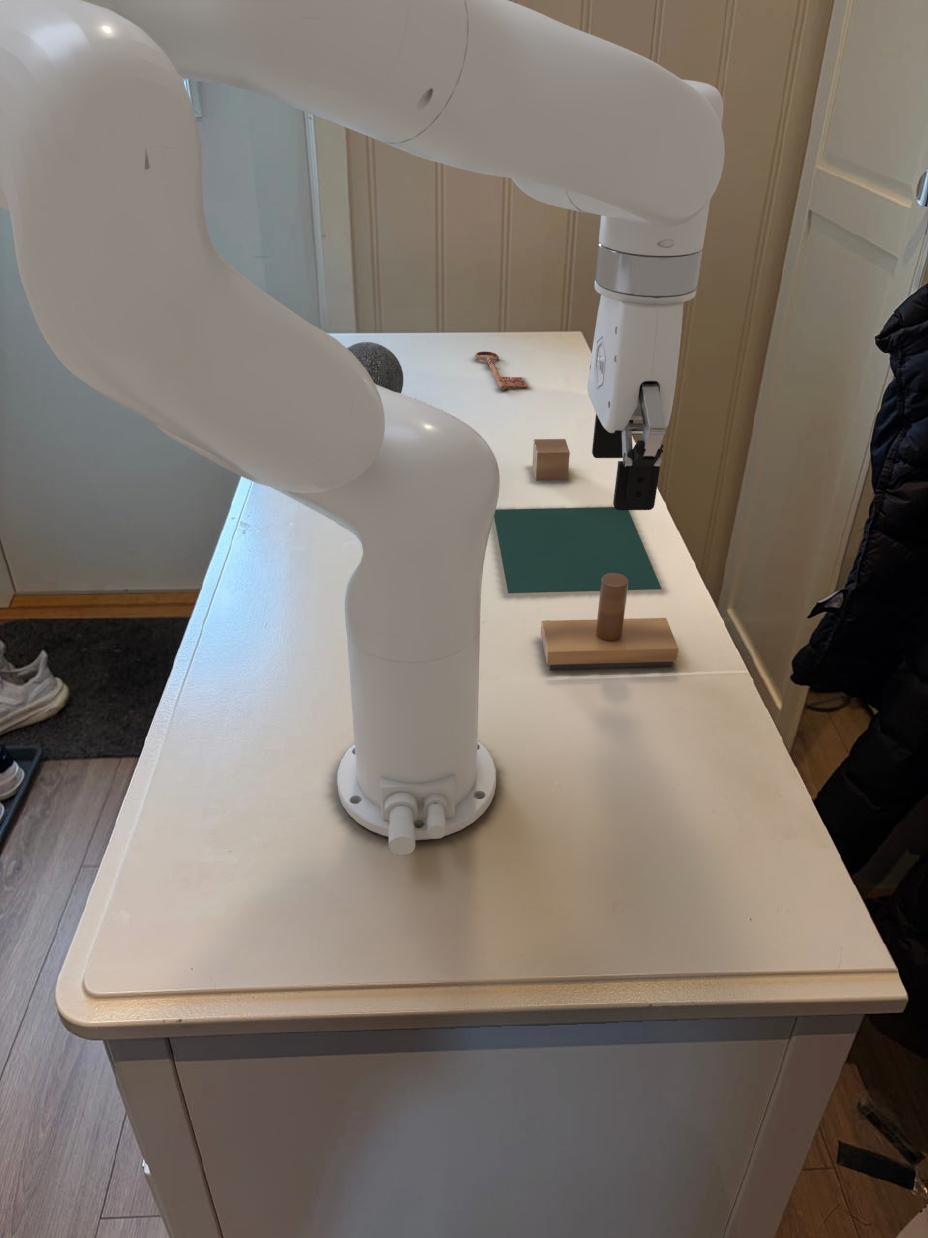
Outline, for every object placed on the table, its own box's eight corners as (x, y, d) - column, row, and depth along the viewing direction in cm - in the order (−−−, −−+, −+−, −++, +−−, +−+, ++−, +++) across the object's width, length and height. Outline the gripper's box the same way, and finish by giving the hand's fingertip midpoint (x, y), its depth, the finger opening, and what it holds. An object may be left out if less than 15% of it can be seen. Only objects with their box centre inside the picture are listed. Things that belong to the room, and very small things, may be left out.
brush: (675, 670, 91) (687, 593, 87) (546, 673, 91) (552, 596, 86) (663, 638, 96) (674, 563, 91) (539, 641, 95) (544, 566, 90)
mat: (661, 591, 102) (661, 588, 102) (508, 595, 102) (508, 592, 101) (626, 508, 117) (627, 506, 117) (492, 511, 116) (492, 509, 116)
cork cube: (567, 481, 123) (569, 452, 121) (535, 482, 123) (537, 452, 121) (563, 467, 126) (565, 438, 124) (532, 468, 126) (533, 439, 124)
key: (527, 391, 148) (507, 356, 160) (528, 385, 148) (508, 350, 160) (489, 390, 147) (472, 354, 159) (490, 384, 146) (473, 349, 159)
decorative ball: (418, 410, 141) (417, 341, 135) (373, 433, 134) (369, 362, 129) (365, 394, 146) (362, 327, 140) (318, 415, 139) (313, 346, 134)
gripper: (578, 241, 80) (561, 439, 89) (619, 304, 65) (594, 532, 75) (669, 242, 80) (643, 439, 90) (730, 305, 66) (691, 531, 75)
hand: (621, 481), depth 82 cm, fingers open, 9 cm apart
